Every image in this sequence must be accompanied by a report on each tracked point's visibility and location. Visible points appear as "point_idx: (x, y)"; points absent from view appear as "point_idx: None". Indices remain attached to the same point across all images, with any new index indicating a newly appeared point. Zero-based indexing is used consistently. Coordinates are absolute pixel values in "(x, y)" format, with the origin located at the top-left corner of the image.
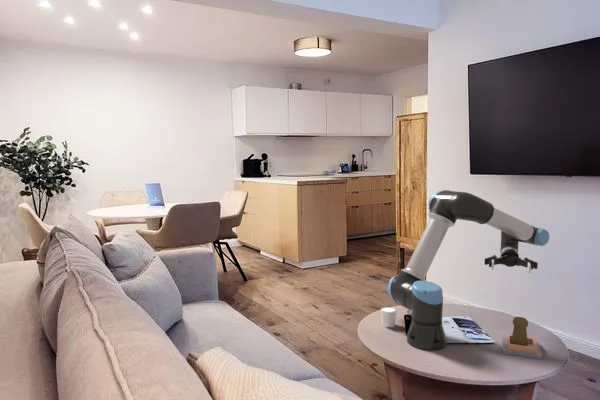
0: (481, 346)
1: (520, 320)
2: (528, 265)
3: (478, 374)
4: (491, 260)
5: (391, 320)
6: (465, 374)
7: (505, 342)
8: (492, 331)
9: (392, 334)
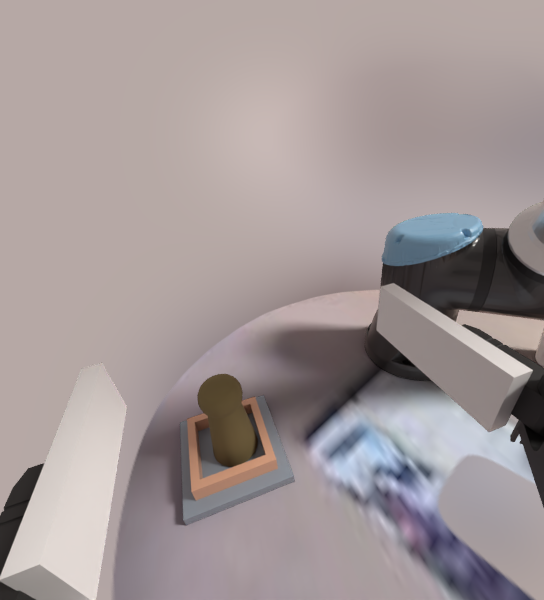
0: (316, 402)
1: (216, 375)
2: (92, 410)
3: (271, 320)
4: (541, 383)
5: (540, 342)
6: (285, 312)
7: (272, 441)
8: (357, 547)
9: None
